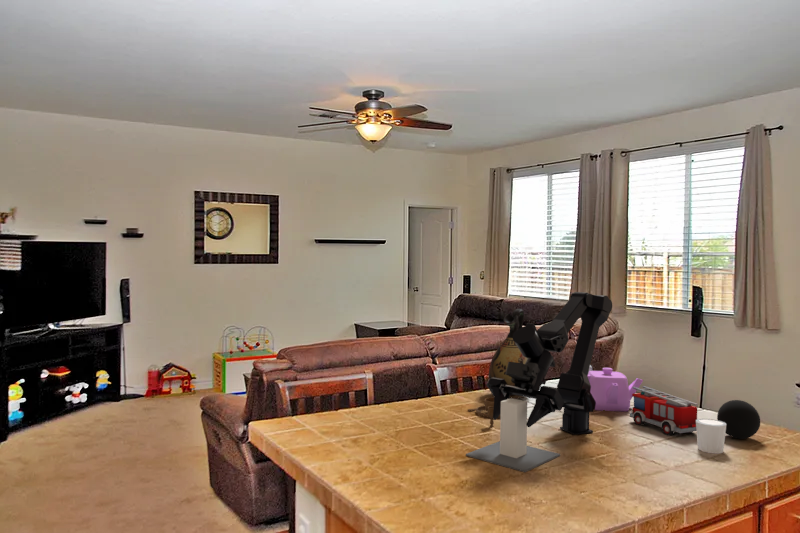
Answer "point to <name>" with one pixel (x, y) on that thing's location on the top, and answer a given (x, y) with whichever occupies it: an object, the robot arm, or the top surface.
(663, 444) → the top surface
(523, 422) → the off-white post
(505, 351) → the ceramic jug
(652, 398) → the toy fire truck
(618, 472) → the top surface
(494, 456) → the charcoal rubber mat
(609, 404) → the teakettle
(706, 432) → the white short cylinder
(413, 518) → the top surface
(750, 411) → the decorative ball
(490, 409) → the place setting
